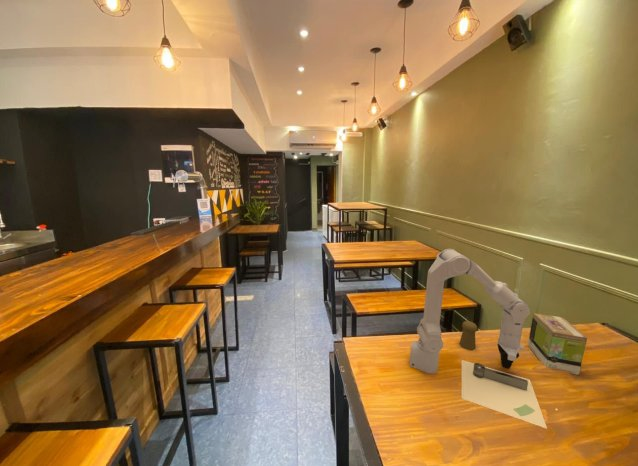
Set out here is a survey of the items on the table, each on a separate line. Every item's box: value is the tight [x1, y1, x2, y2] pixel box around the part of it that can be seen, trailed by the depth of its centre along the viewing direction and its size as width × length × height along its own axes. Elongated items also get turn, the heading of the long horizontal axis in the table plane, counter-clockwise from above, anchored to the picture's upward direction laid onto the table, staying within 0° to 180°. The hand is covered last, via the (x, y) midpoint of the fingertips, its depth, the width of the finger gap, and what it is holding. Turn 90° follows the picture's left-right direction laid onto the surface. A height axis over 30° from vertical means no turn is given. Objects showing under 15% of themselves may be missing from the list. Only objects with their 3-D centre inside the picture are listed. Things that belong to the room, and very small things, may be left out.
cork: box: [459, 320, 478, 351], centre depth 102 cm, size 6×6×11 cm
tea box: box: [527, 312, 588, 376], centre depth 95 cm, size 15×10×15 cm
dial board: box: [461, 359, 548, 430], centre depth 81 cm, size 20×20×1 cm
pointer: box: [473, 362, 528, 390], centre depth 84 cm, size 15×3×3 cm, turn 61°
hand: (505, 367), depth 88 cm, fingers closed
